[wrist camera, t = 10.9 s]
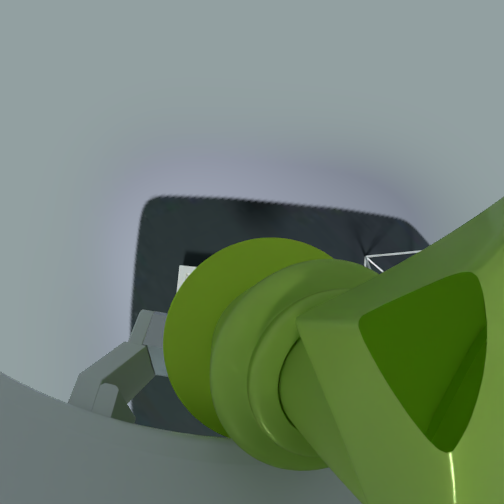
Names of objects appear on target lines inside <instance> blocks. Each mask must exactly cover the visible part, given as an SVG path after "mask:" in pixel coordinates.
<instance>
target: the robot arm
mask: <svg viewBox="0 0 504 504" xmlns="http://www.w3.org/2000/svg"><path fill="white" fill-rule="evenodd" d="M167 314H168V313H162V312H156V311H149V310H143V309H142V311H141V312H140V313H139V315H138V318H137V320H136V323H135V325H134V328H133V330H132V333H131V336H130V338H129V341H128V342H123V343H122V344H121V345H119V346H118V347H116V348H115V349H114V350H112V351H111V352H109V353H108V354H107V355H105V356H104V357H102V358H101V359H100V360H98V361H97V362H95V363H94V364H93V365H92V366H90V367H89V368H87V369H86V370H85V371H83V372H82V373H80V374H79V376H78V379H77V381H76V384H75V386H74V389H73V391H72V394H71V397H70V399H69V402H68V403H65V402H63V401H60V400H58V399H55V398H53V397H51V396H48V395H46V394H44V393H41V392H39V391H37V390H35V389H33V388H30V387H29V386H27V385H24V384H22V383H20V382H19V381H16V380H15V379H13V378H11V377H9V376H7V375H5V374H3V373H2V372H0V504H362V503H361V502H360V501H359V500H358V499H357V498H356V497H355V496H354V494H353V493H352V492H351V491H350V490H349V489H348V488H347V487H346V486H345V485H344V484H343V482H342V481H341V480H340V479H339V478H338V477H337V476H336V475H335V473H334V472H333V471H332V470H331V469H330V468H329V467H328V468H324V469H319V470H310V471H294V470H286V469H281V468H277V467H273V466H270V465H268V464H265V463H263V462H261V461H259V460H257V459H255V458H253V457H252V456H250V455H249V454H247V453H246V452H245V451H243V450H242V449H241V448H240V447H239V446H238V445H237V444H236V443H235V442H234V441H233V440H232V439H231V438H222V437H211V436H201V435H193V434H186V433H179V432H173V431H167V430H161V429H156V428H151V427H146V426H142V425H137V424H134V423H135V416H134V415H133V413H132V411H131V410H130V408H129V406H128V405H127V403H128V402H129V401H130V400H131V399H132V398H133V397H134V396H135V395H136V394H137V393H138V392H139V391H140V390H141V389H142V388H143V387H144V386H145V385H146V384H147V383H148V382H149V381H150V380H151V379H152V378H153V377H154V376H155V375H161V376H168V374H167V370H166V366H165V361H164V353H163V335H164V327H165V322H166V318H167Z"/></svg>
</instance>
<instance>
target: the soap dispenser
mask: <svg viewBox="0 0 504 504" xmlns="http://www.w3.org/2000/svg"><path fill="white" fill-rule="evenodd" d="M163 353H164V361H165V366H166V370H167V374H168V377H169V379H170V382H171V384H172V387H173V389H174V391H175V392H176V394H177V396H178V397H179V399H180V401H181V402H182V403H183V405H184V406H185V407H186V408H187V409H188V411H189V412H190V413H191V414H192V415H193V416H194V417H195V418H196V419H198V420H199V421H200V422H201V423H203V424H204V425H205V426H207V427H208V428H210V429H211V430H213V431H215V432H217V433H219V434H221V435H223V436H226V437H228V438H231V439H232V440H233V441H234V442H235V443H236V444H237V445H238V446H239V447H240V448H241V449H242V450H243V451H245V452H246V453H247V454H249V455H250V456H252V457H253V458H255V459H257V460H259V461H261V462H263V463H265V464H268V465H270V466H273V467H277V468H281V469H286V470H294V471H310V470H319V469H324V468H328V467H329V468H330V469H331V470H332V471H333V472H334V473H335V475H336V476H337V477H338V478H339V479H340V480H341V481H342V482H343V484H344V485H345V486H346V487H347V488H348V489H349V490H350V491H351V492H352V493H353V494H354V496H355V497H356V498H357V499H358V500H359V501H360V502H361V503H362V504H504V197H503V198H501V199H500V200H499V201H497V202H496V203H495V204H493V205H492V206H490V207H489V208H488V209H486V210H485V211H483V212H482V213H480V214H479V215H477V216H476V217H474V218H473V219H471V220H470V221H468V222H467V223H465V224H464V225H462V226H461V227H459V228H457V229H456V230H454V231H453V232H451V233H450V234H448V235H447V236H445V237H443V238H442V239H440V240H438V241H437V242H435V243H434V244H432V245H430V246H428V247H427V248H425V249H423V250H422V251H420V252H418V253H417V254H415V255H413V256H411V257H410V258H408V259H406V260H404V261H403V262H401V263H399V264H397V265H396V266H394V267H392V268H390V269H388V270H386V271H385V272H383V273H381V274H378V273H376V272H374V271H373V270H371V269H369V268H367V267H365V266H362V265H360V264H357V263H354V262H350V261H345V260H338V259H333V258H332V257H331V256H329V255H328V254H326V253H324V252H323V251H321V250H319V249H317V248H315V247H313V246H311V245H308V244H305V243H302V242H299V241H295V240H291V239H284V238H258V239H251V240H247V241H243V242H239V243H236V244H234V245H231V246H229V247H226V248H224V249H222V250H220V251H218V252H217V253H215V254H213V255H212V256H210V257H209V258H207V259H206V260H205V261H204V262H202V263H201V264H200V265H199V266H198V267H197V268H196V269H195V270H194V271H193V272H192V273H191V274H190V275H189V276H188V277H187V278H186V280H185V281H184V282H183V284H182V285H181V287H180V288H179V290H178V292H177V293H176V295H175V297H174V299H173V301H172V303H171V306H170V309H169V311H168V314H167V318H166V322H165V327H164V335H163Z"/></svg>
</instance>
